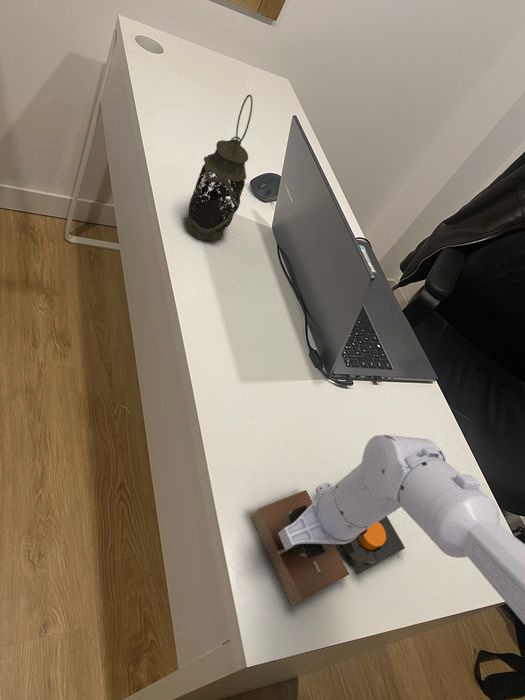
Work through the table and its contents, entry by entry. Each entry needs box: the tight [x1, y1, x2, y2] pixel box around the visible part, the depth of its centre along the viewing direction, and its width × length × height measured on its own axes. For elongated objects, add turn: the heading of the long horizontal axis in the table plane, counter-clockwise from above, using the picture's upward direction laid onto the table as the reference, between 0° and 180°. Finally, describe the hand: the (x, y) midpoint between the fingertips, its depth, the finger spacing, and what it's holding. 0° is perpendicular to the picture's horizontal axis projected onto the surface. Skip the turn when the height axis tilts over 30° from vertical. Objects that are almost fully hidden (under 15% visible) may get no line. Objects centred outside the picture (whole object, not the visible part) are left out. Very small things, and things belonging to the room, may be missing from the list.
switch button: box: [357, 522, 386, 550], centre depth 67 cm, size 4×4×2 cm
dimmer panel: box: [251, 489, 350, 607], centre depth 65 cm, size 12×8×3 cm
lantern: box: [187, 94, 254, 243], centre depth 90 cm, size 10×9×28 cm
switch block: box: [341, 516, 406, 575], centre depth 70 cm, size 11×9×4 cm
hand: (305, 539), depth 64 cm, fingers closed on dial, 4 cm apart
